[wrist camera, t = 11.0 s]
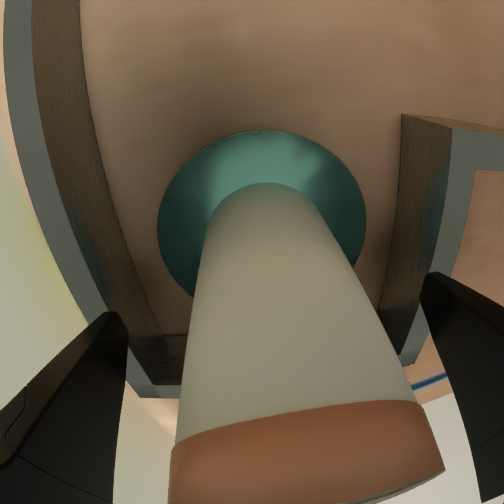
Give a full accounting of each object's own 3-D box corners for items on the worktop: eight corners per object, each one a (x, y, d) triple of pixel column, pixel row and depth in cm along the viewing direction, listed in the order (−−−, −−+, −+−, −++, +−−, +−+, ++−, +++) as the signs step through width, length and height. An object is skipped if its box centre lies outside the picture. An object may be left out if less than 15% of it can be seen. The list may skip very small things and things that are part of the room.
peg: (325, 175, 9) (501, 431, 2) (323, 280, 12) (393, 498, 4) (193, 190, 9) (107, 499, 2) (216, 292, 12) (206, 525, 4)
